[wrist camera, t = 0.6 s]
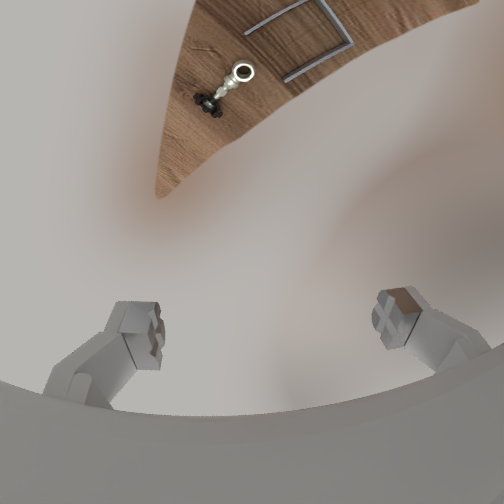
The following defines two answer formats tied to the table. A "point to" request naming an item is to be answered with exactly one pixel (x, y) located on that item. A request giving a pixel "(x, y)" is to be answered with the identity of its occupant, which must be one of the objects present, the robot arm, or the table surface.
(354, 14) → the table surface
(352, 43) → the valve dock
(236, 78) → the valve
